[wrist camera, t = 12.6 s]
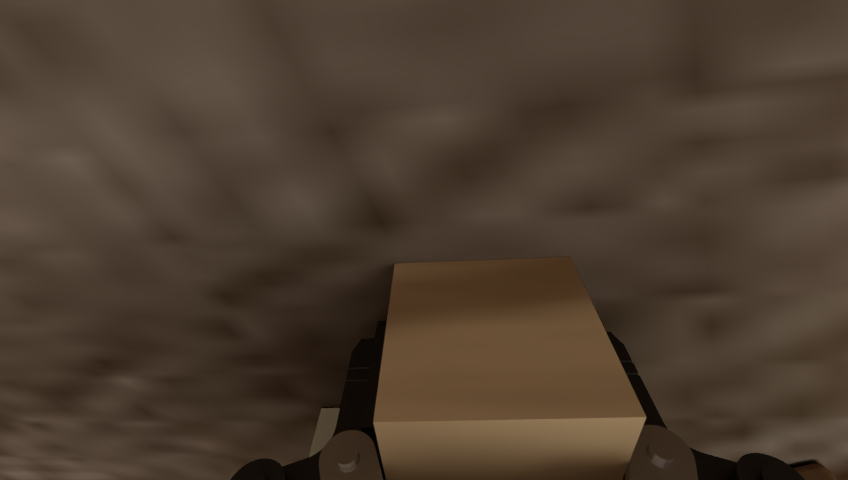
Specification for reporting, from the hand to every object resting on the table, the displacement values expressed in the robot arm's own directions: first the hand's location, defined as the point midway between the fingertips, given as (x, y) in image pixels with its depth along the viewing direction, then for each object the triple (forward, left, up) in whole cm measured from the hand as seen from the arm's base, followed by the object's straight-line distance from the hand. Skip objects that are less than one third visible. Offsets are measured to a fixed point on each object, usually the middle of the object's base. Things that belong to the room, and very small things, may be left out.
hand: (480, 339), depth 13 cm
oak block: (0, 0, 0) cm, 1 cm away
